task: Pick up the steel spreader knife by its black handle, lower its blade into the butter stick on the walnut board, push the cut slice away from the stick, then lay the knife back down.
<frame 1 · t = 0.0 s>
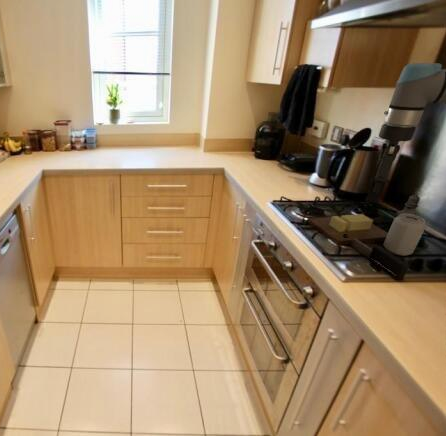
hand: (372, 194, 98), 17 cm above the worktop, tool pointing down, fingers open, 13 cm apart
board: (347, 230, 113), on the worktop
butter: (353, 226, 112), point 1 cm above the worktop, touching board
butter slice: (336, 228, 111), point 1 cm above the worktop, touching board
salt shaker: (403, 223, 117), on the worktop
knife: (370, 259, 97), on the worktop
can: (396, 250, 101), on the worktop
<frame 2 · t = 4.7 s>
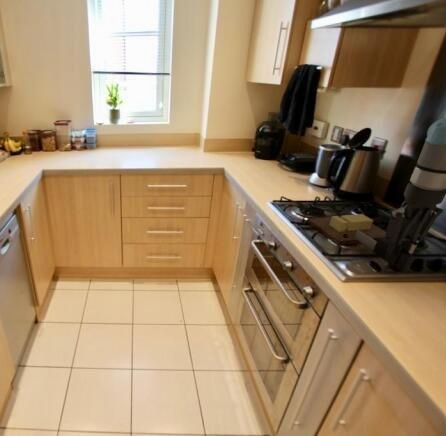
hand: (393, 261, 90), 3 cm above the worktop, tool pointing down, fingers closed on knife, 2 cm apart
knife: (375, 251, 96), point 3 cm above the worktop, touching gripper
everything else where it was.
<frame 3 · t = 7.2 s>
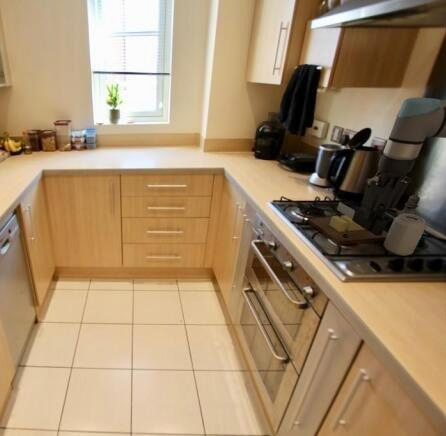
hand: (369, 228, 100), 7 cm above the worktop, tool pointing down, fingers closed on knife, 2 cm apart
knife: (354, 220, 106), point 7 cm above the worktop, touching gripper
everything else where it was.
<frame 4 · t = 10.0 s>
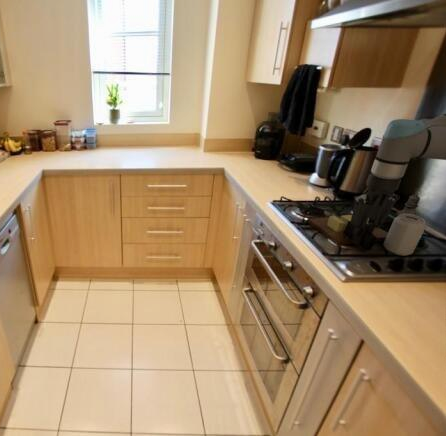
hand: (358, 243, 103), 1 cm above the worktop, tool pointing down, fingers closed on knife, 2 cm apart
butter slice: (334, 228, 111), point 2 cm above the worktop, touching board, knife
knife: (345, 232, 108), point 2 cm above the worktop, touching board, butter slice, gripper
everything else where it was.
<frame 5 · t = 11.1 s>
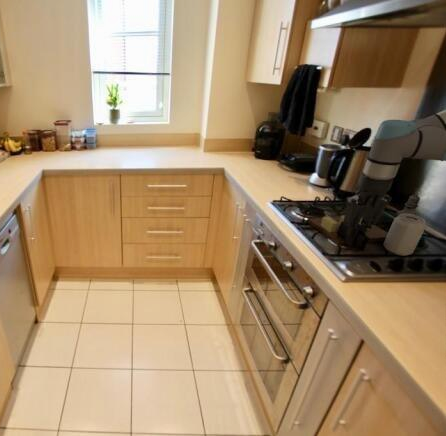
hand: (351, 243, 103), 1 cm above the worktop, tool pointing down, fingers closed on knife, 2 cm apart
butter slice: (327, 228, 111), point 2 cm above the worktop, touching board, knife
knife: (338, 233, 108), point 2 cm above the worktop, touching board, butter slice, gripper
everything else where it was.
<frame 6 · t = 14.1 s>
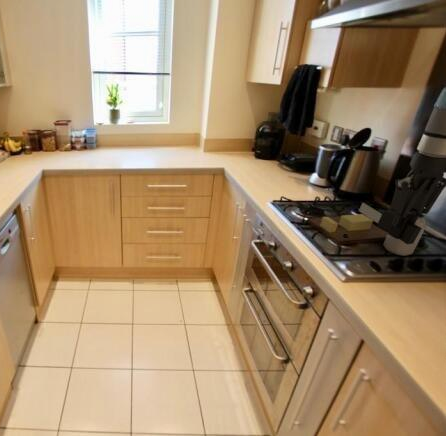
hand: (397, 236, 88), 11 cm above the worktop, tool pointing down, fingers closed on knife, 2 cm apart
butter slice: (327, 228, 111), point 1 cm above the worktop, touching board
knife: (379, 224, 93), point 12 cm above the worktop, touching gripper
everything else where it was.
when the fingers open (0 cm above the worktop, at t = 16.7 s): knife stays where it is, on the worktop.
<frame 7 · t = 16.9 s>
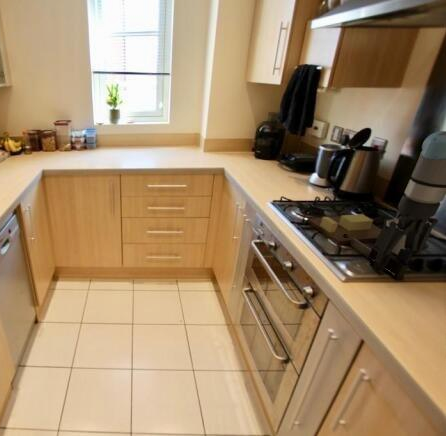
hand: (387, 270, 92), 0 cm above the worktop, tool pointing down, fingers open, 6 cm apart
knife: (369, 259, 97), on the worktop
everything else where it was.
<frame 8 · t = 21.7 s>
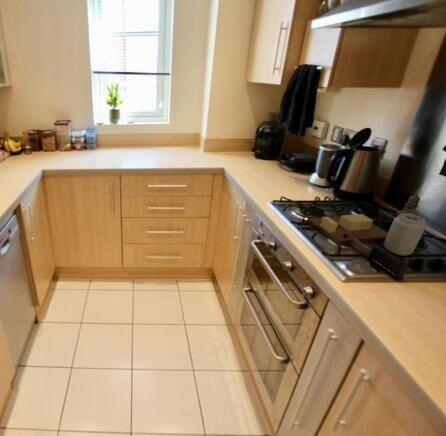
nothing on the worktop moved.
at the end: butter slice moved 3.5 cm from its start; butter moved 0.0 cm from its start; the gripper is holding nothing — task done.
